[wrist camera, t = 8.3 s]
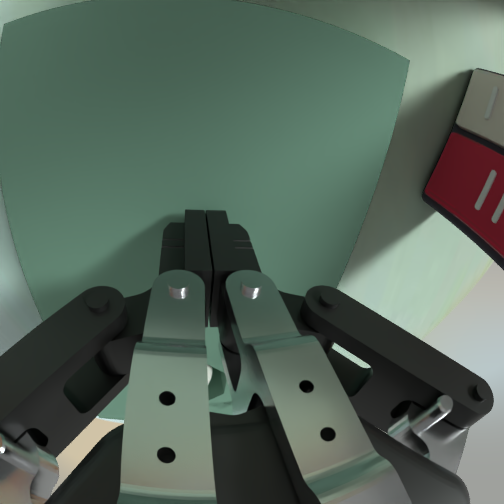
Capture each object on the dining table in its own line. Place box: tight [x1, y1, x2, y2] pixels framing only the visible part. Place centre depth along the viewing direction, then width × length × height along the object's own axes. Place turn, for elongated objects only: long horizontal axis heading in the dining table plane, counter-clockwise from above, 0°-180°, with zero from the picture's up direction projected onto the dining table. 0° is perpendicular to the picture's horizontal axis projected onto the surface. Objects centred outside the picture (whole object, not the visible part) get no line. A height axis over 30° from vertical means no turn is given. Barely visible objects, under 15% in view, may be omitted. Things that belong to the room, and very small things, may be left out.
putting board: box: [0, 0, 410, 420], centre depth 15 cm, size 16×28×3 cm, turn 172°
